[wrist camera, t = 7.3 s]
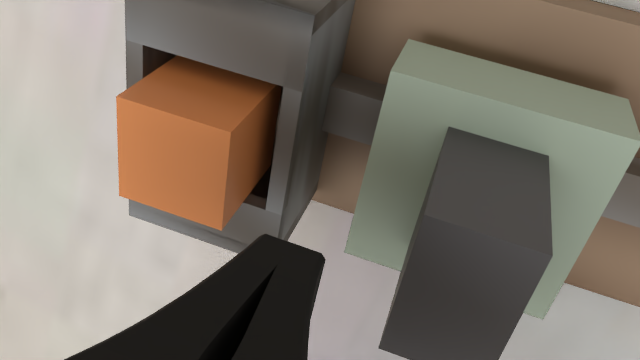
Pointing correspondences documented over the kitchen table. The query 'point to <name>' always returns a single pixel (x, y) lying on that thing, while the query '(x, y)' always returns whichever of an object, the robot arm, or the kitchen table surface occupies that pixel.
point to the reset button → (195, 139)
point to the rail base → (369, 89)
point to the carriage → (482, 196)
